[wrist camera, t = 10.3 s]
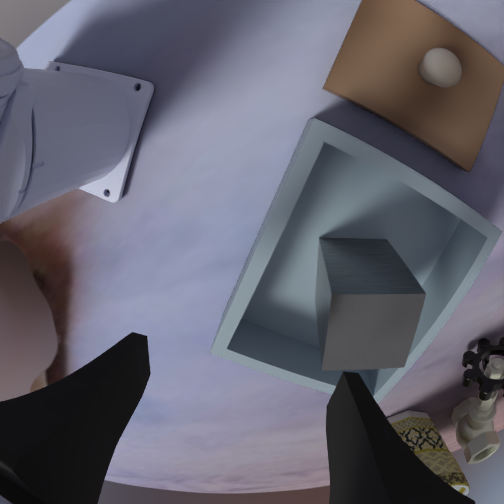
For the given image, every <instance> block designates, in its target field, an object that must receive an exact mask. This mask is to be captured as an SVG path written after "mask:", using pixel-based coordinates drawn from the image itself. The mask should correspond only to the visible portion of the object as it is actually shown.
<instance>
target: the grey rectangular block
mask: <svg viewBox="0 0 504 504" xmlns="http://www.w3.org/2000/svg"><path fill="white" fill-rule="evenodd" d="M425 297H426V293H425V291H424V290H423V288H422V287H421V285H420V284H419V282H418V281H417V279H416V278H415V277H414V275H413V274H412V272H411V271H410V270H409V268H408V267H407V265H406V264H405V263H404V261H403V260H402V259H401V257H400V256H399V255H398V253H397V252H396V250H395V249H394V248H393V247H392V245H391V244H390V243H389V241H388V240H387V239H364V238H323V237H319V243H318V260H317V275H316V289H315V307H316V316H317V326H318V336H319V346H320V357H321V369H322V371H328V370H368V369H387V368H402V367H405V364H406V361H407V358H408V355H409V352H410V349H411V346H412V343H413V340H414V336H415V333H416V330H417V326H418V323H419V319H420V316H421V312H422V309H423V305H424V301H425Z"/></svg>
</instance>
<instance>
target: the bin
mask: <svg viewBox="0 0 504 504" xmlns="http://www.w3.org/2000/svg"><path fill="white" fill-rule="evenodd" d="M501 233H502V231H501V230H500V229H498V228H497V227H496V226H495V225H493V224H492V223H491V222H489V221H488V220H487V219H485V218H484V217H483V216H481V215H480V214H479V213H477V212H476V211H475V210H473V209H472V208H471V207H469V206H468V205H466V204H465V203H463V202H462V201H461V200H459V199H458V198H456V197H455V196H453V195H452V194H450V193H449V192H447V191H446V190H444V189H443V188H441V187H440V186H438V185H437V184H435V183H434V182H432V181H431V180H429V179H427V178H426V177H424V176H423V175H421V174H419V173H418V172H416V171H415V170H413V169H411V168H410V167H408V166H406V165H404V164H403V163H401V162H399V161H398V160H396V159H394V158H392V157H391V156H389V155H387V154H385V153H383V152H382V151H380V150H378V149H376V148H374V147H372V146H371V145H369V144H367V143H365V142H363V141H361V140H359V139H357V138H355V137H353V136H351V135H349V134H347V133H345V132H343V131H341V130H339V129H337V128H335V127H333V126H331V125H329V124H327V123H324V122H322V121H320V120H318V119H316V118H313V119H310V120H308V123H307V125H306V127H305V129H304V132H303V134H302V136H301V138H300V141H299V143H298V145H297V147H296V150H295V152H294V154H293V156H292V159H291V161H290V163H289V165H288V168H287V170H286V172H285V175H284V177H283V179H282V181H281V184H280V186H279V188H278V190H277V193H276V195H275V197H274V199H273V202H272V204H271V206H270V208H269V211H268V213H267V215H266V218H265V220H264V222H263V224H262V227H261V229H260V231H259V233H258V236H257V238H256V240H255V242H254V245H253V247H252V249H251V252H250V254H249V256H248V258H247V261H246V263H245V265H244V267H243V270H242V272H241V274H240V277H239V279H238V281H237V283H236V286H235V288H234V290H233V292H232V295H231V297H230V299H229V301H228V304H227V306H226V308H225V311H224V313H223V315H222V318H221V321H220V324H219V327H218V330H217V332H216V335H215V338H214V341H213V344H212V347H211V350H210V353H212V354H214V355H217V356H219V357H222V358H225V359H227V360H230V361H233V362H235V363H238V364H241V365H243V366H246V367H249V368H252V369H254V370H257V371H260V372H263V373H266V374H269V375H272V376H275V377H278V378H281V379H284V380H287V381H290V382H293V383H296V384H299V385H303V386H306V387H309V388H312V389H316V390H319V391H323V392H326V393H330V394H333V392H334V390H335V388H336V386H337V383H338V381H339V379H340V377H341V375H342V372H343V371H345V372H356V373H359V374H360V376H361V378H362V379H363V381H364V383H365V384H366V386H367V388H368V389H369V391H370V393H371V394H372V396H373V397H374V399H375V401H376V402H377V404H378V402H379V401H380V400H381V399H382V398H383V397H384V396H385V395H386V394H387V393H388V392H389V391H390V390H391V389H392V388H393V387H394V386H395V384H396V383H397V382H398V381H399V380H400V379H401V378H402V377H403V376H404V374H405V373H406V372H407V371H408V370H409V369H410V367H411V366H412V365H413V364H414V363H415V362H416V360H417V359H418V358H419V357H420V356H421V354H422V353H423V352H424V351H425V349H426V348H427V347H428V346H429V344H430V343H431V342H432V340H433V339H434V338H435V337H436V335H437V334H438V333H439V331H440V330H441V329H442V327H443V326H444V325H445V323H446V322H447V320H448V319H449V318H450V316H451V315H452V313H453V312H454V311H455V309H456V308H457V306H458V305H459V303H460V302H461V300H462V299H463V297H464V296H465V294H466V293H467V291H468V290H469V288H470V287H471V285H472V284H473V282H474V280H475V279H476V277H477V275H478V274H479V272H480V271H481V269H482V267H483V266H484V264H485V262H486V260H487V259H488V257H489V255H490V253H491V252H492V250H493V248H494V246H495V244H496V242H497V241H498V239H499V237H500V235H501ZM319 237H323V238H364V239H387V240H388V241H389V243H390V244H391V245H392V247H393V248H394V249H395V250H396V252H397V253H398V255H399V256H400V257H401V259H402V260H403V261H404V263H405V264H406V265H407V267H408V268H409V270H410V271H411V272H412V274H413V275H414V277H415V278H416V279H417V281H418V282H419V284H420V285H421V287H422V288H423V290H424V291H425V293H426V297H425V301H424V305H423V309H422V312H421V316H420V319H419V323H418V326H417V330H416V333H415V336H414V340H413V343H412V346H411V349H410V352H409V355H408V358H407V361H406V364H405V367H402V368H387V369H368V370H328V371H322V369H321V357H320V346H319V336H318V326H317V316H316V307H315V289H316V275H317V260H318V243H319Z"/></svg>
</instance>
